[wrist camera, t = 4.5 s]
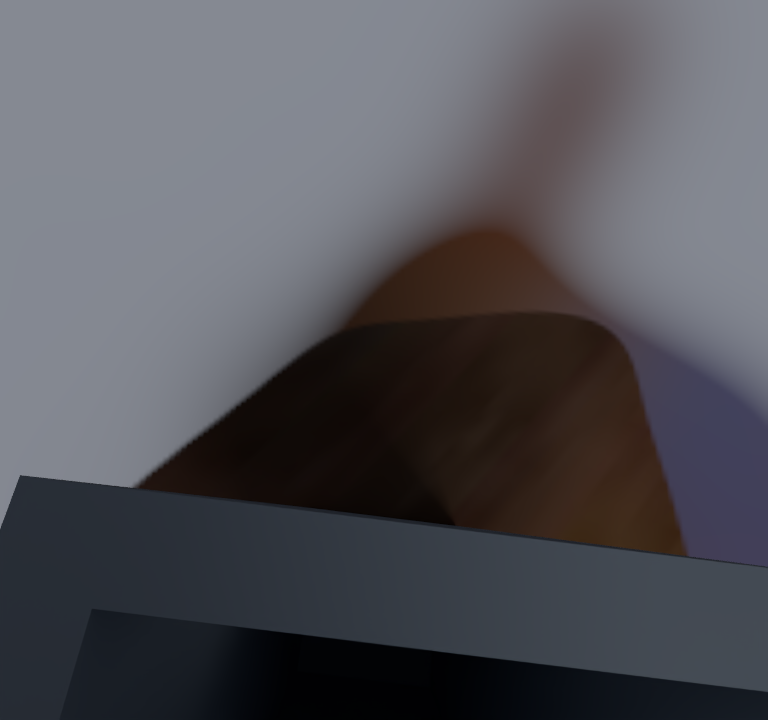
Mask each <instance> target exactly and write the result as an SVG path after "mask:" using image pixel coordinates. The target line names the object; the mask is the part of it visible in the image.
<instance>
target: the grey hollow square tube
mask: <svg viewBox="0 0 768 720" xmlns="http://www.w3.org/2000/svg"><path fill="white" fill-rule="evenodd" d="M0 720H768V567H765V566H757V565H749V564H742V563H734V562H727V561H719V560H712V559H704V558H696V557H689V556H681V555H674V554H666V553H658V552H651V551H643V550H635V549H628V548H620V547H612V546H605V545H597V544H590V543H582V542H574V541H567V540H559V539H551V538H544V537H536V536H529V535H521V534H513V533H506V532H498V531H490V530H483V529H475V528H468V527H460V526H452V525H444V524H436V523H428V522H420V521H412V520H404V519H395V518H387V517H379V516H371V515H363V514H355V513H347V512H339V511H331V510H323V509H315V508H307V507H298V506H289V505H280V504H271V503H262V502H253V501H244V500H235V499H226V498H217V497H209V496H200V495H191V494H182V493H173V492H164V491H155V490H146V489H137V488H128V487H119V486H110V485H101V484H93V483H82V482H75V481H66V480H56V479H48V478H39V477H30V476H21V475H20V477H19V480H18V483H17V485H16V488H15V491H14V493H13V496H12V499H11V502H10V504H9V507H8V510H7V512H6V515H5V518H4V520H3V523H2V526H1V529H0Z"/></svg>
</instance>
